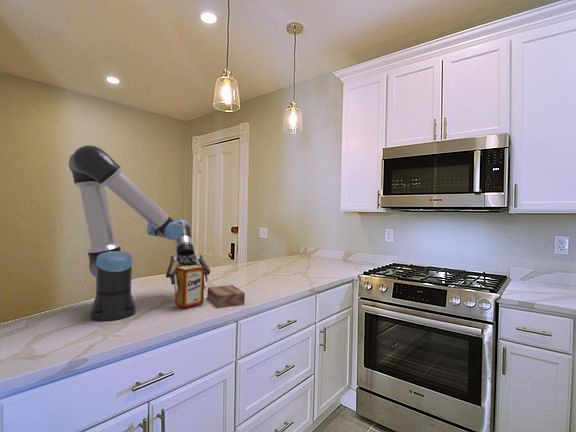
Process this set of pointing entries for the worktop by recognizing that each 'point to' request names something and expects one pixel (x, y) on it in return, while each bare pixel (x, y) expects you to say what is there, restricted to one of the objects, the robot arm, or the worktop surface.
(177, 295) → the orange cardboard box
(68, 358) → the worktop surface
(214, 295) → the block
